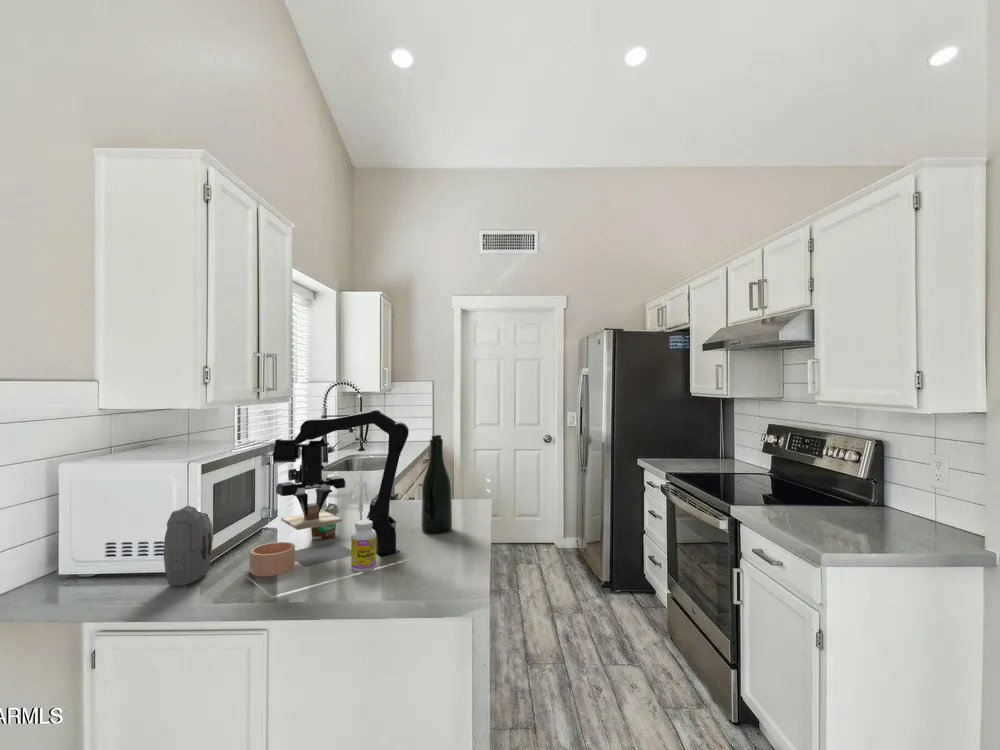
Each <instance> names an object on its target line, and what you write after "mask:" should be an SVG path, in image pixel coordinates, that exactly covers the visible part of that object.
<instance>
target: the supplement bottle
mask: <svg viewBox="0 0 1000 750" xmlns="http://www.w3.org/2000/svg"><path fill="white" fill-rule="evenodd" d="M372 526H373V522H372V521H371V520H369V519H362V520H357V521H355V523H354V528H355V530H354V531H353V532H352V533H351V535H350V536H351V537H350V538H351V539H350V540H351V541H350V542H351V543H350V545H351V547H350V548H351V549H350V550H351V556H350V558H351V559H350V560H351V561H350V562H351V563H350V567H351V570H352V571H354V572H359V573H367V572H369V571H373V570H374V569H375V568H376V566H377V554H376V532H375V530H373V529H372Z"/></svg>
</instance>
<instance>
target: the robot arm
mask: <svg viewBox="0 0 1000 750" xmlns="http://www.w3.org/2000/svg"><path fill="white" fill-rule="evenodd" d="M371 424H372V425H373V424H374V425H375V426H376V427H378V428H379V429H380V430H382V431H383V432H384V433H386V434H387V435H388V445H387V447H388V448H387V449H388V453H387V456H386V461H385V465H384V469H383V474H382V479H381V483H380V487H379V490H378V496H377V498H376V500H374V499H373V500H371V502H370V503H369V510H368V512H367V515H366V520H371V521H372V522H373V526H372V530H374V531H375V532H376V556H379V557H383V558H384V557H388V556H391V555H396V554H399V553H401V550H399V549H397V532H396V527H397V520H395V519H394V518H393V517H392V516H391V515H390V507H391V495H392V492H393V491H392V490H393V487H394V481H395V478H396V474H397V469H398V465H399V461H400V456H401V453H402V451H403V449H404V447H405V445H406V442H407V440H408V437H409V432H410V430H409V427H408V425H407V424H405V423H404V422H401V421H400V422H399V421H398V422H397V421H395V420H394V419H392V418H391V417H389V416H387V415H386V414H384V413H382V412H381V410H379V409H373V410H370V411H366V412H361V413H356V414H351V415H346V416H339V417H334V418H326V417H325V418H323V417H322V418H310V419H308V420H306V421H304V422H303V423H302V424H301V426H300V427H299V433H298V434H297V436H295V437H294V439H291V438H290V439H283V438H277V439H275V442H274V443H275V444H274V449H273V452H272V459H273V463H275V464H276V463H281V464H282V463H296V462H297V459H298V460H299V459H300V458H301V464H300V465H299V470H297V468H290V469H288V471H287V472H288V475H287V477H288V482H281V483H280V482H278V483H277V484H276V487H275V493H276V494H277V495H280V496H281V497H288V496H294V497H295V498H297V501H298V502H299V505H300V508H301V510H302V514H304V516H307V512H308V504H309V503H308V501H309V496H308V495H309V494H308V493H306V490H312V489H313V490H314V489H315V493H316V500H315V501H316V502H315V503H316V504H318V505H319V512H320V510H321V508H323V505H324V503H325V501H326V499H327V498H328V496H329V495H330V493H333V490H332V489H331V487H333V488H334V489H336V490H337V489H345V488H346V480H345V478H344V477H342V476H339V475H336V476H327V477H326V478H325V480H324V479H323V470H324V465H323V447H324V448H326V447H328V446H330V442H328V441H327V440H326V439H325V437H323V436H326V435H327V434H330V433H333V432H337V431H341V430H346V429H352V428H357V427H363V426H368V425H371ZM321 437H323V438H321ZM318 438H321V439H320V440H315V439H318ZM307 440H309V442H308V443H304V442H306V441H307ZM292 481H294V482H292Z"/></svg>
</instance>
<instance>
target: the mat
mask: <svg viewBox="0 0 1000 750" xmlns="http://www.w3.org/2000/svg"><path fill="white" fill-rule="evenodd" d="M347 557H348V558H349V557H351V549H350V548H348V547H346V546H344V545H342V544H340V543H338V542H336V541H332V542H326V543H323V544H318V545H314V546H309V547H304V548H301V549H295V563H298V564H299V565H301V566H302V567H304V568H309V567H311V566H315V565H319V564H324V563H328V562H332V561H335V560H340V559H343V558H347Z"/></svg>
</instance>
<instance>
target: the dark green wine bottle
mask: <svg viewBox="0 0 1000 750" xmlns="http://www.w3.org/2000/svg"><path fill="white" fill-rule="evenodd" d="M443 444H444V441H443V438H442V435H441V434H433V435H431V438H430V440H429V445H430V450H429V461H428V465H427V468H426V471H425V474H424V475H423V479H422V486H421V487H422V488H421V531H422V532H423V533H424V534H428V533H429V535H441V534H442V533H443V534H446V532H447V533H449V532H450V531H452V529H453V503H452V502H453V501H452V499H453V498H452V485H451V483H452V482H451V479H450V475H449V472H448V471H447V468H446V465H445V461H444V451H443V450H444V449H443V447H444V446H443Z"/></svg>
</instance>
